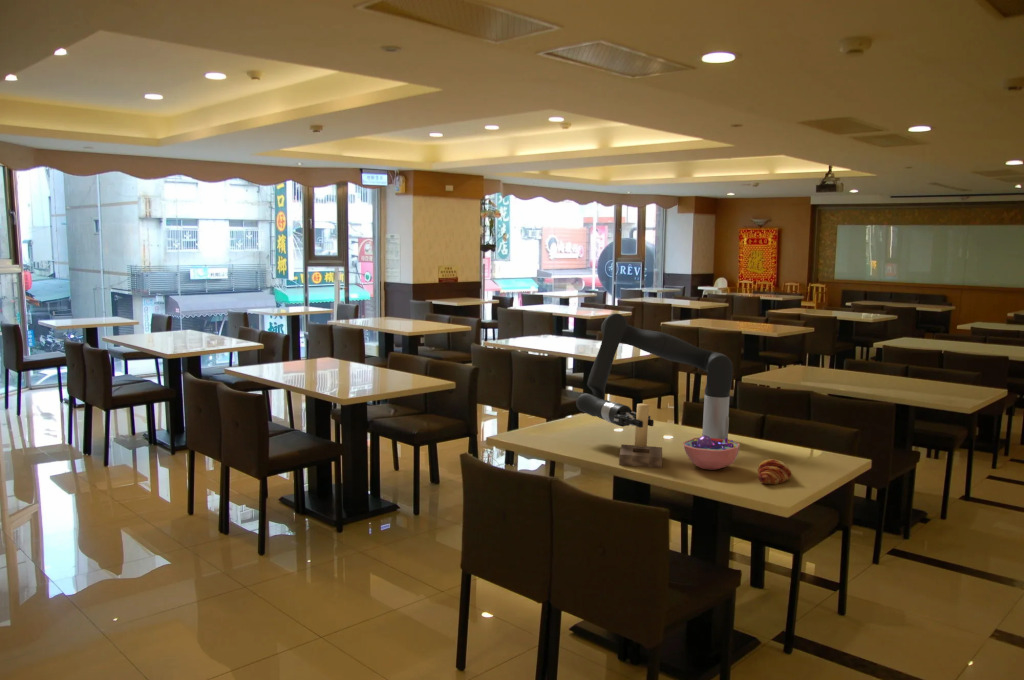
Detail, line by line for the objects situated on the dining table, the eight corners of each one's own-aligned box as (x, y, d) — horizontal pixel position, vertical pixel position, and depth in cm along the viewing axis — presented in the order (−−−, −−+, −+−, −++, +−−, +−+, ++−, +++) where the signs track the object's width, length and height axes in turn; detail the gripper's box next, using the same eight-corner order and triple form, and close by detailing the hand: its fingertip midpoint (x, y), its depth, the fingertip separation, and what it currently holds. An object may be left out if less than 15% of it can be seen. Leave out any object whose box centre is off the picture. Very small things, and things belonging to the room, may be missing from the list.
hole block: (661, 457, 265) (662, 447, 265) (661, 467, 251) (662, 457, 251) (621, 454, 268) (621, 444, 267) (619, 464, 254) (619, 454, 254)
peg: (646, 444, 261) (649, 404, 259) (646, 447, 257) (648, 406, 255) (634, 443, 261) (637, 403, 260) (634, 446, 257) (636, 405, 256)
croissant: (774, 480, 253) (764, 457, 254) (803, 471, 247) (793, 448, 249) (754, 494, 236) (743, 470, 237) (784, 485, 230) (773, 460, 231)
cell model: (751, 470, 251) (753, 437, 250) (706, 478, 241) (708, 443, 240) (714, 458, 266) (716, 426, 264) (670, 464, 256) (672, 431, 254)
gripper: (600, 404, 267) (631, 414, 252) (633, 401, 273) (664, 411, 259) (599, 425, 267) (629, 436, 253) (632, 422, 274) (663, 433, 259)
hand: (647, 423), depth 256 cm, fingers closed on peg, 4 cm apart
